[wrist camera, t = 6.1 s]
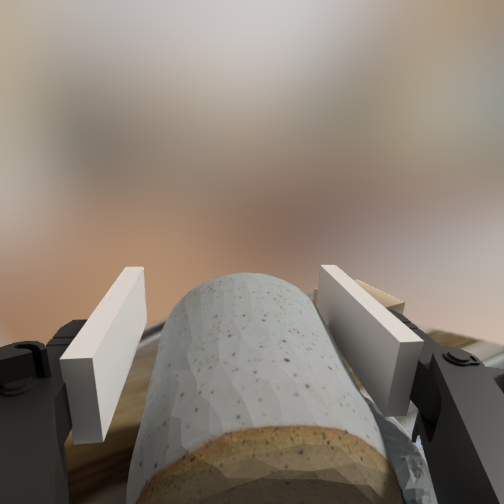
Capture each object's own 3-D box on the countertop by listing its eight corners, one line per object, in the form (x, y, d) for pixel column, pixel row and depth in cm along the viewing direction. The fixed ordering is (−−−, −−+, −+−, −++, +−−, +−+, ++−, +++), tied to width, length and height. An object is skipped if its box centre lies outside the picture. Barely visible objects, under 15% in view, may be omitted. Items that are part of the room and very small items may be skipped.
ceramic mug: (115, 686, 7) (82, 438, 5) (163, 414, 15) (159, 267, 13) (501, 619, 9) (608, 405, 7) (365, 403, 17) (393, 269, 14)
